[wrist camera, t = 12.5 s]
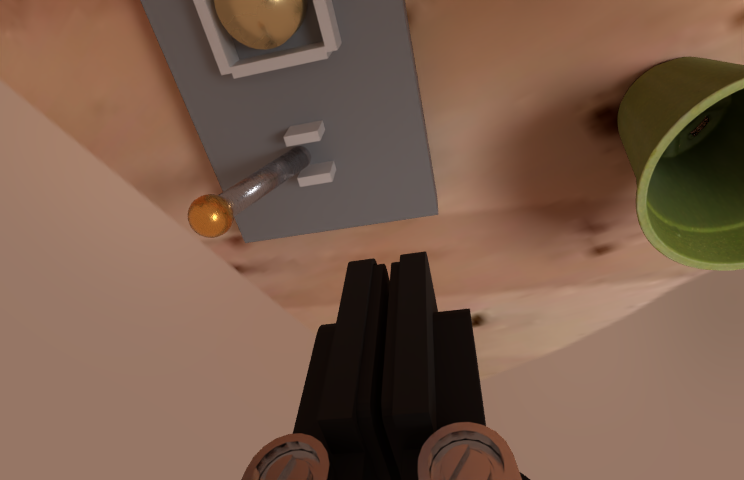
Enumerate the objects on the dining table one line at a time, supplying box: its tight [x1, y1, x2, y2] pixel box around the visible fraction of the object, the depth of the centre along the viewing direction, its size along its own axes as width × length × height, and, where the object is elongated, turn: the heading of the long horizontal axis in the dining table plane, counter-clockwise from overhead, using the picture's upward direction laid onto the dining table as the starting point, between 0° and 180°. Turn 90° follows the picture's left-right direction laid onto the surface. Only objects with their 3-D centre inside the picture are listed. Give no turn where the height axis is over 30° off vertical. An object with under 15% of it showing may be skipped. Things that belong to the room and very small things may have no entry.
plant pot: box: [618, 57, 744, 271], centre depth 30 cm, size 12×12×11 cm
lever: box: [188, 146, 311, 238], centre depth 31 cm, size 3×3×10 cm
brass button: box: [214, 0, 307, 49], centre depth 28 cm, size 5×5×2 cm
